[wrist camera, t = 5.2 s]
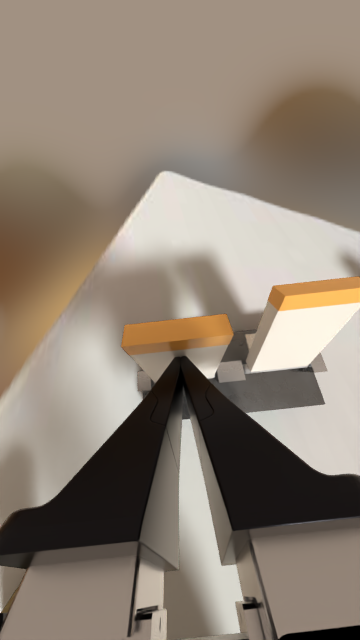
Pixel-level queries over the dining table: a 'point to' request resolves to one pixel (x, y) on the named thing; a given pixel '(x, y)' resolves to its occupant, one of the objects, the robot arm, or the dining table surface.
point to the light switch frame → (256, 381)
